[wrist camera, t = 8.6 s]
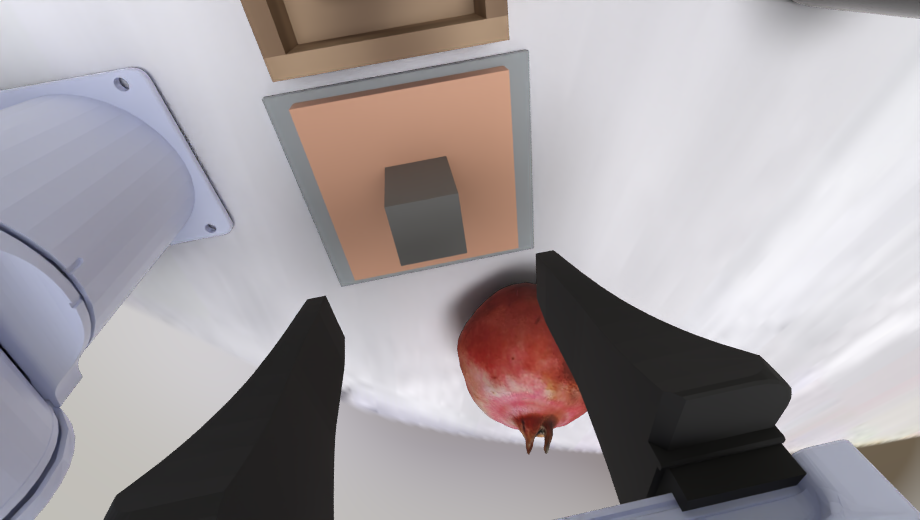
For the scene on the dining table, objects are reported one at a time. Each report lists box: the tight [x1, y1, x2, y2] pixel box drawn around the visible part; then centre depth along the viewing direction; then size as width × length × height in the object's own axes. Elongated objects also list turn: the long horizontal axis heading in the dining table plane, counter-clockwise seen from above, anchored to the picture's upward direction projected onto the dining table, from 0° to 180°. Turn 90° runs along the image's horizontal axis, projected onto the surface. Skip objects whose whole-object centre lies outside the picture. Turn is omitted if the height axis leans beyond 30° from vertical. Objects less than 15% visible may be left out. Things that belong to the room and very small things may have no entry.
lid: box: [289, 66, 519, 281], centre depth 19 cm, size 10×10×5 cm
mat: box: [262, 50, 534, 287], centre depth 21 cm, size 12×11×1 cm
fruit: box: [457, 283, 587, 454], centre depth 24 cm, size 9×10×10 cm
